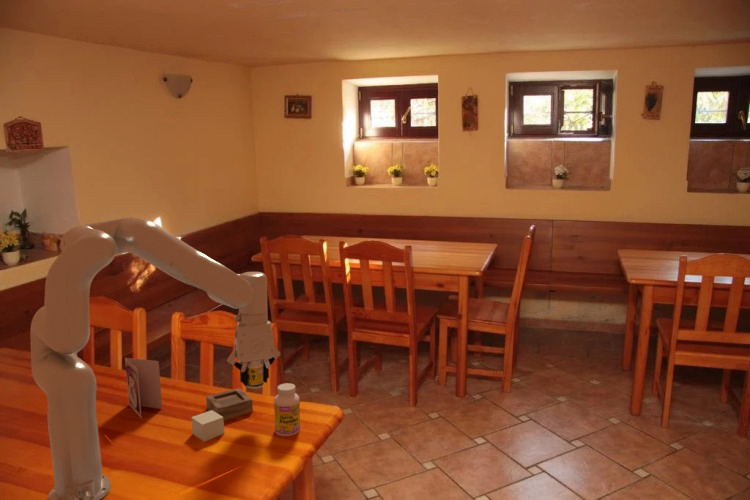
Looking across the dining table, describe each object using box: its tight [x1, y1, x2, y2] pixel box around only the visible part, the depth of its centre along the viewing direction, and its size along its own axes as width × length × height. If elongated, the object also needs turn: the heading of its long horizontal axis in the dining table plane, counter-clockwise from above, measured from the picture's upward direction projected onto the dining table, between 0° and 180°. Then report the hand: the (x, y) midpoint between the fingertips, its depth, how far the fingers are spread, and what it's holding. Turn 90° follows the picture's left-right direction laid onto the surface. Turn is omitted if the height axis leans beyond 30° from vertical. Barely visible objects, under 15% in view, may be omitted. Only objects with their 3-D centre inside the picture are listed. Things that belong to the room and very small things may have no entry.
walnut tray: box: [205, 387, 254, 421], centre depth 170 cm, size 10×10×5 cm
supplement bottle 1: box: [246, 360, 265, 390], centre depth 162 cm, size 5×5×8 cm
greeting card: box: [123, 357, 163, 419], centre depth 172 cm, size 11×7×15 cm, turn 39°
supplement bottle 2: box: [273, 382, 301, 437], centre depth 157 cm, size 7×7×13 cm
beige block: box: [191, 410, 225, 443], centre depth 157 cm, size 6×6×5 cm
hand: (254, 382), depth 163 cm, fingers closed on supplement bottle 1, 4 cm apart
